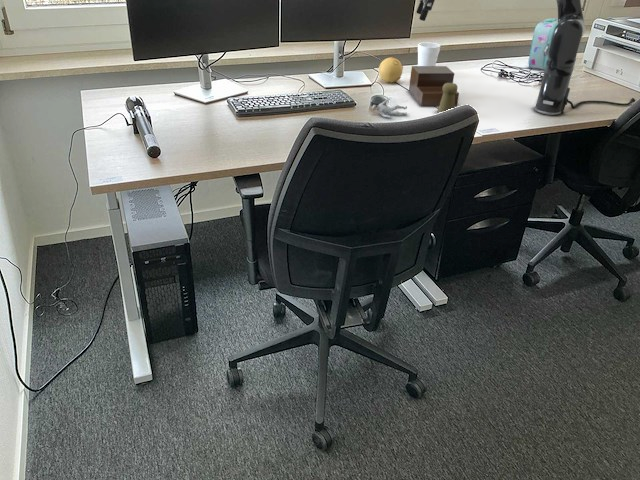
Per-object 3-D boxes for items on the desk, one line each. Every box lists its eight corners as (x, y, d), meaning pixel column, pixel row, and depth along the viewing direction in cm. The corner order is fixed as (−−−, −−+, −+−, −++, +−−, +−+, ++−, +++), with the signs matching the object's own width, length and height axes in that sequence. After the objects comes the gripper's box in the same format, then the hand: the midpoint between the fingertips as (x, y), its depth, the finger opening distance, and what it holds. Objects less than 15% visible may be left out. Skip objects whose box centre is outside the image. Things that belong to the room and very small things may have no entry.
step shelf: (456, 106, 204) (461, 79, 199) (420, 106, 202) (424, 79, 197) (442, 91, 219) (446, 66, 213) (408, 91, 217) (411, 66, 212)
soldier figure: (406, 121, 191) (377, 112, 187) (399, 126, 196) (370, 118, 191) (408, 101, 193) (378, 92, 189) (400, 106, 198) (371, 98, 193)
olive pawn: (456, 113, 197) (462, 83, 191) (450, 117, 193) (455, 87, 187) (441, 109, 200) (445, 80, 194) (434, 114, 196) (439, 83, 190)
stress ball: (390, 86, 221) (392, 62, 216) (372, 81, 227) (374, 56, 222) (406, 82, 227) (409, 58, 221) (388, 77, 233) (391, 53, 227)
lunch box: (546, 73, 246) (559, 24, 234) (523, 69, 250) (535, 20, 238) (560, 61, 265) (572, 15, 253) (538, 58, 269) (550, 12, 257)
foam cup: (420, 71, 242) (424, 41, 235) (439, 75, 238) (444, 44, 231) (410, 75, 236) (414, 44, 229) (429, 80, 231) (434, 48, 224)
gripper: (450, -21, 188) (432, 25, 198) (443, -30, 200) (426, 14, 209) (430, -28, 187) (413, 19, 197) (424, -37, 199) (408, 8, 208)
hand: (420, 16), depth 203 cm, fingers open, 8 cm apart
